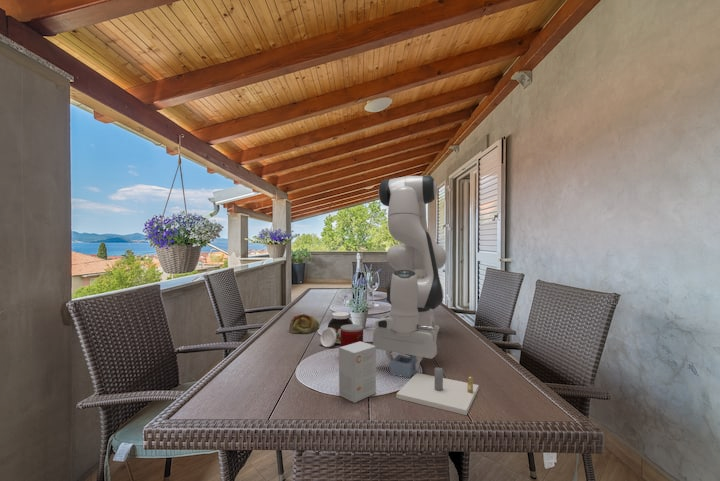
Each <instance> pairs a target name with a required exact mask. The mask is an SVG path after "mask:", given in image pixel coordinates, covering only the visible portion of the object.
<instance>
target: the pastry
mask: <svg viewBox="0 0 720 481" xmlns="http://www.w3.org/2000/svg"><path fill="white" fill-rule="evenodd" d="M288 330H289V333H290V334H294V335H299V334H301V335H303V334H305V335H306V334H307V335H308V334H312V333H314V332H315V331H317V330H320V322H319V320H318V319H317V318H315V317H314V316H311V315H308V314H305V313H304V314H298V315H295V316H293V317H292V319H291V320H290V323H289V328H288Z"/></svg>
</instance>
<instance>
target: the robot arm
mask: <svg viewBox="0 0 720 481" xmlns="http://www.w3.org/2000/svg"><path fill="white" fill-rule="evenodd" d="M377 192H378V193H377V194H378V198H379V202H380V203H381V204H382V205H383V206H385V207H386V206H387V207H388V209H387V227H388V232H389V234H390V236H391V237H392V238H393V239H394V240H396V241H397V242H399V244H393V245H391V246H390V247H389V248H388V250H387V253H386V261H387V262H388V265H389V266H390V267H391V268H392V269H394V270H395V271H393V272H392V274H391V280H390V281H389V282H388V283H387V284H386V301H387V303H388V304H390V305H391V306H390V310H389V315H387V316H383V317H380V318H379V319H377V320H376V321H375V322H374V325H375V329H374V331H373V336H372V345H374V346H376V350H380V351H385V355H386V357H387V359H388V362H389V363H388V364H389V366H391V361H392V360H393V359H394V358H395V357H393V354H392V353H398V354H401V355H402V354H403V355H408V356H410V355H413V356H416V359H417V363H414V364H413V370H417V371H419V369H420V363H421V362H422V361H423V358H424V359H425V358H426V359H432V360H433V359H434V358H435V357H436V355H437V354H438V346H437V340H438V334H439V331H440V325H437V324H435V315H434V314H433V312H432V311H431V310H435V309H436V308H438V307H439V306H440V305H441V304H443V302H444V301H443V300H444V288H443V287H442V284H441V280H440V275H439V270H438V269H442V268H443V267H444V266H445V264H446V261H447V253H446V250H445V249H444V247H443V246H441V245H440V244H439V243H437V242H436V240H434V238H432V235H431V234H430V232H429V229H428V223H427V214H426V213H427V212H426V205H427V204H430V203H432V202H433V201H435V200H436V196H437V193H438V187H437V183H436V181H435V178H434V177H433V176H431V175H427V174H426V175H425V174H423V175H406V176H401V177H395V178H385V179H384V180H382V181H381V182H380V183H379V186H378V191H377ZM416 270H424V271H425V277H424V278H422V277H421V276H418V274H417V273H416Z"/></svg>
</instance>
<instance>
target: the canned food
mask: <svg viewBox="0 0 720 481" xmlns="http://www.w3.org/2000/svg"><path fill="white" fill-rule="evenodd" d="M359 341H361V342H364V326H363V325H359V324H354V323H353V324H348V325H343V326H341V331H340V346H339V347H342V346H346V345H349V344H353V343H356V342H359Z"/></svg>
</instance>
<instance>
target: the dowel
mask: <svg viewBox="0 0 720 481" xmlns="http://www.w3.org/2000/svg"><path fill="white" fill-rule="evenodd" d="M467 383H468V384H467V392H468V393H473V384H474V377H473V376H472V375H467Z"/></svg>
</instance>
